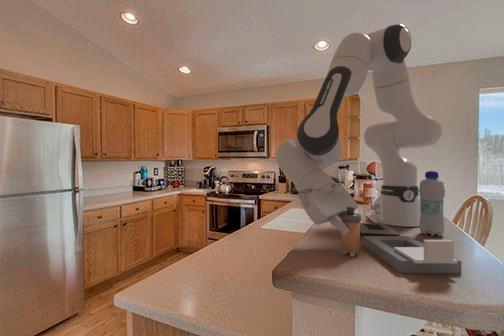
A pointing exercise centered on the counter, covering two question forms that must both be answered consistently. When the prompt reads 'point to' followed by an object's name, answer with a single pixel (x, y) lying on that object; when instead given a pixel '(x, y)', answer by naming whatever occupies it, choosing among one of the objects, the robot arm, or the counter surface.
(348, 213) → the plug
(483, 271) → the counter surface
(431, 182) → the bottle
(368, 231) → the electrical outlet
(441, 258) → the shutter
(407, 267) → the socket block
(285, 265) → the counter surface
